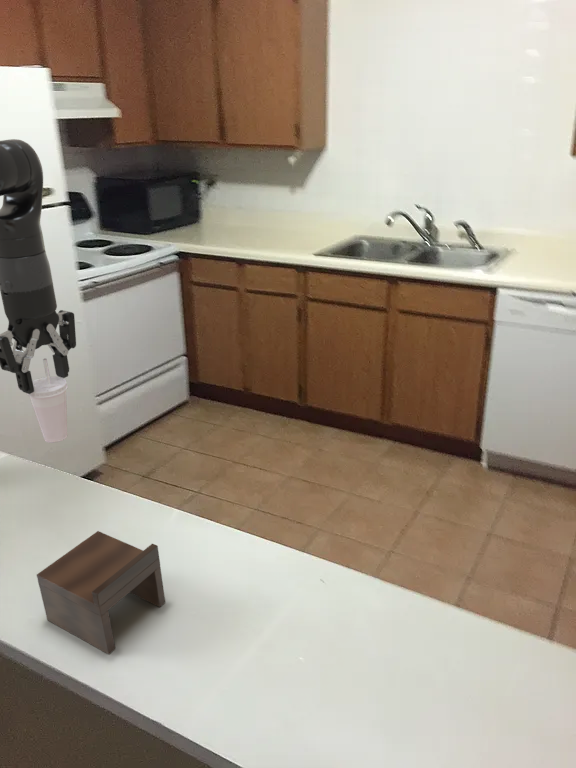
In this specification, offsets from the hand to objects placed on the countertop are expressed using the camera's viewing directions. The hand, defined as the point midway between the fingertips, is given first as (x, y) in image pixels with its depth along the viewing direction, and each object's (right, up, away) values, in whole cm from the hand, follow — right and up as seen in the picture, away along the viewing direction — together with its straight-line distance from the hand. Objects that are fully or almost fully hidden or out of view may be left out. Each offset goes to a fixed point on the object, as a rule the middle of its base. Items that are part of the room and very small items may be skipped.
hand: (45, 383), depth 107 cm
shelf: (+13, -32, -13) cm, 37 cm away
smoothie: (0, -9, +4) cm, 10 cm away
